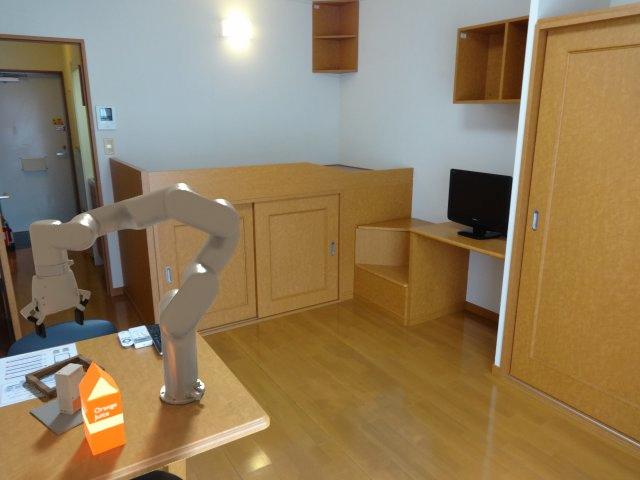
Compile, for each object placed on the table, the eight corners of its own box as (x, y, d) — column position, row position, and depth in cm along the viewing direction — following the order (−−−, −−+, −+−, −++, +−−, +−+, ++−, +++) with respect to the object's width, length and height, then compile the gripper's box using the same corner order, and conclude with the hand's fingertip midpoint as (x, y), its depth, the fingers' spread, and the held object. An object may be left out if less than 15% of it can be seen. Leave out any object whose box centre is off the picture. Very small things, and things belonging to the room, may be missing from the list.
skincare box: (72, 415, 128) (67, 375, 125) (59, 413, 129) (53, 373, 126) (87, 402, 134) (83, 364, 131) (74, 400, 135) (69, 362, 132)
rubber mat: (113, 407, 132) (113, 406, 132) (57, 435, 121) (57, 434, 121) (84, 387, 142) (84, 386, 142) (30, 411, 130) (29, 410, 130)
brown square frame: (105, 374, 149) (104, 368, 149) (48, 398, 136) (47, 392, 136) (81, 359, 158) (80, 353, 157) (25, 381, 145) (24, 375, 144)
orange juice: (117, 425, 125) (109, 356, 120) (126, 443, 118) (118, 371, 113) (84, 436, 121) (75, 365, 115) (92, 456, 114) (82, 381, 109)
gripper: (79, 258, 130) (86, 316, 134) (8, 274, 116) (19, 338, 121) (93, 263, 125) (100, 322, 130) (21, 280, 112) (32, 346, 116)
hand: (61, 330), depth 125 cm, fingers open, 9 cm apart
